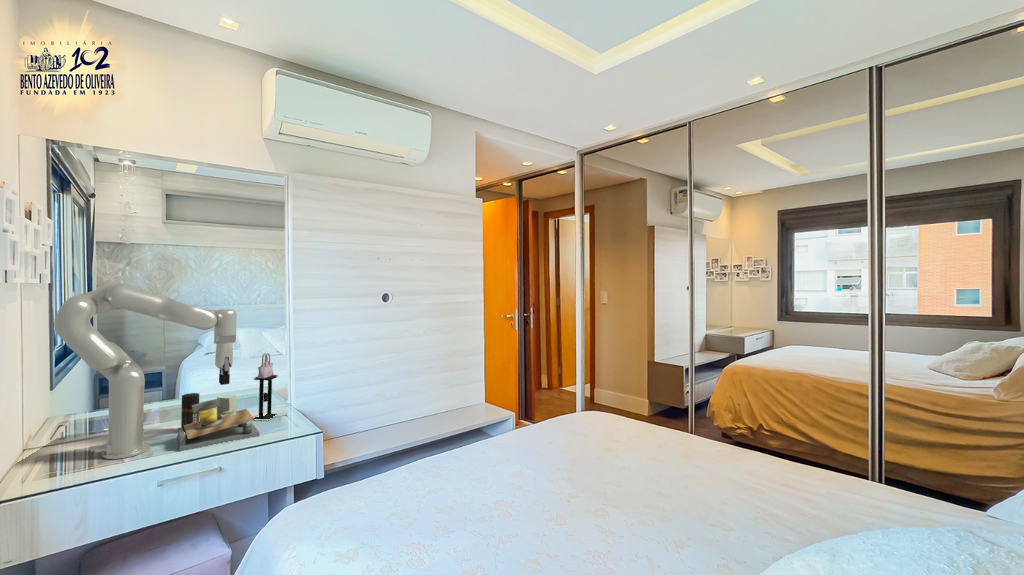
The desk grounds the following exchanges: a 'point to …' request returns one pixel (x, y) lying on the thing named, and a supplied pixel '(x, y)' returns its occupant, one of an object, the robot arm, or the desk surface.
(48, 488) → the desk surface
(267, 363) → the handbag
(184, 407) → the deodorant
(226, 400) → the skincare box
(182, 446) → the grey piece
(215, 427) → the level plate
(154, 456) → the desk surface
